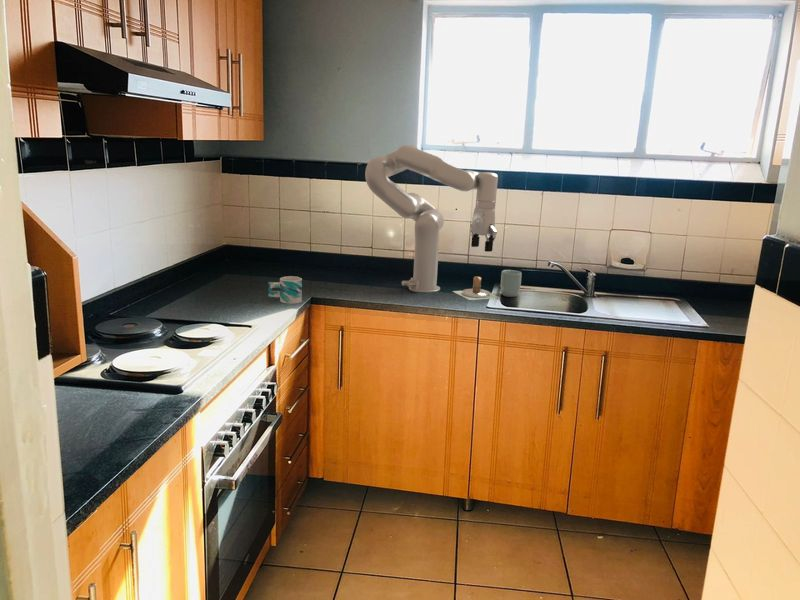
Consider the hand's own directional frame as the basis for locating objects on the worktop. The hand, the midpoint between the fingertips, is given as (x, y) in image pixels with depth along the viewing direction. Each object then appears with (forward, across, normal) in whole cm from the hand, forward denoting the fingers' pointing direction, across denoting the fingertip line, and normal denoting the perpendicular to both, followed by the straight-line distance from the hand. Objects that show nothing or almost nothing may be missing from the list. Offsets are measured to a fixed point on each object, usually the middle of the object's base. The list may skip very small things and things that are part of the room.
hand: (481, 249), depth 258 cm
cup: (+19, +5, +12) cm, 23 cm away
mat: (+19, +1, -1) cm, 19 cm away
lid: (+18, +1, -1) cm, 18 cm away
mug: (+20, -12, -75) cm, 78 cm away
